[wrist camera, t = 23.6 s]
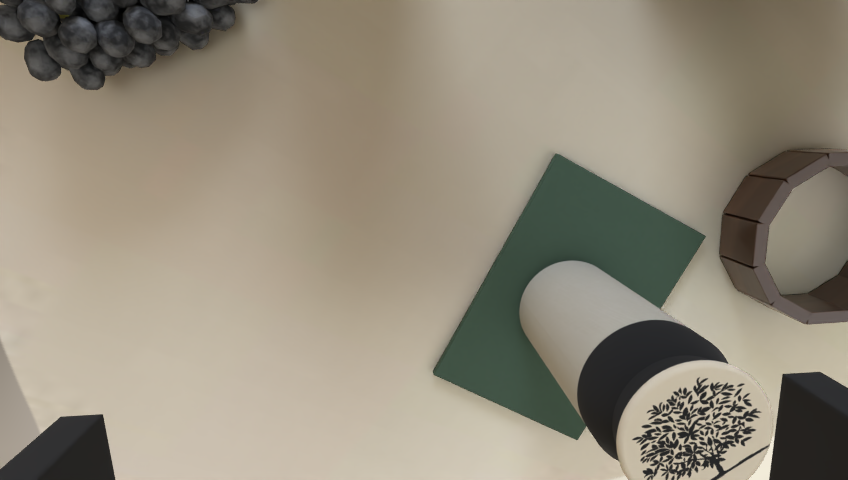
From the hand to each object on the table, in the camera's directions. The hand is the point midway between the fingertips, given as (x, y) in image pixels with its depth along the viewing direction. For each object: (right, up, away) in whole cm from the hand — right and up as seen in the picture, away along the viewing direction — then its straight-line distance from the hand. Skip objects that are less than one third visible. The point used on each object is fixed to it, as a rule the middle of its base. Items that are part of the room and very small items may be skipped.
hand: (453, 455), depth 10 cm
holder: (+30, +5, +32) cm, 44 cm away
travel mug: (+11, -1, +32) cm, 33 cm away
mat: (+11, -1, +32) cm, 34 cm away
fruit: (-19, +19, +26) cm, 37 cm away
